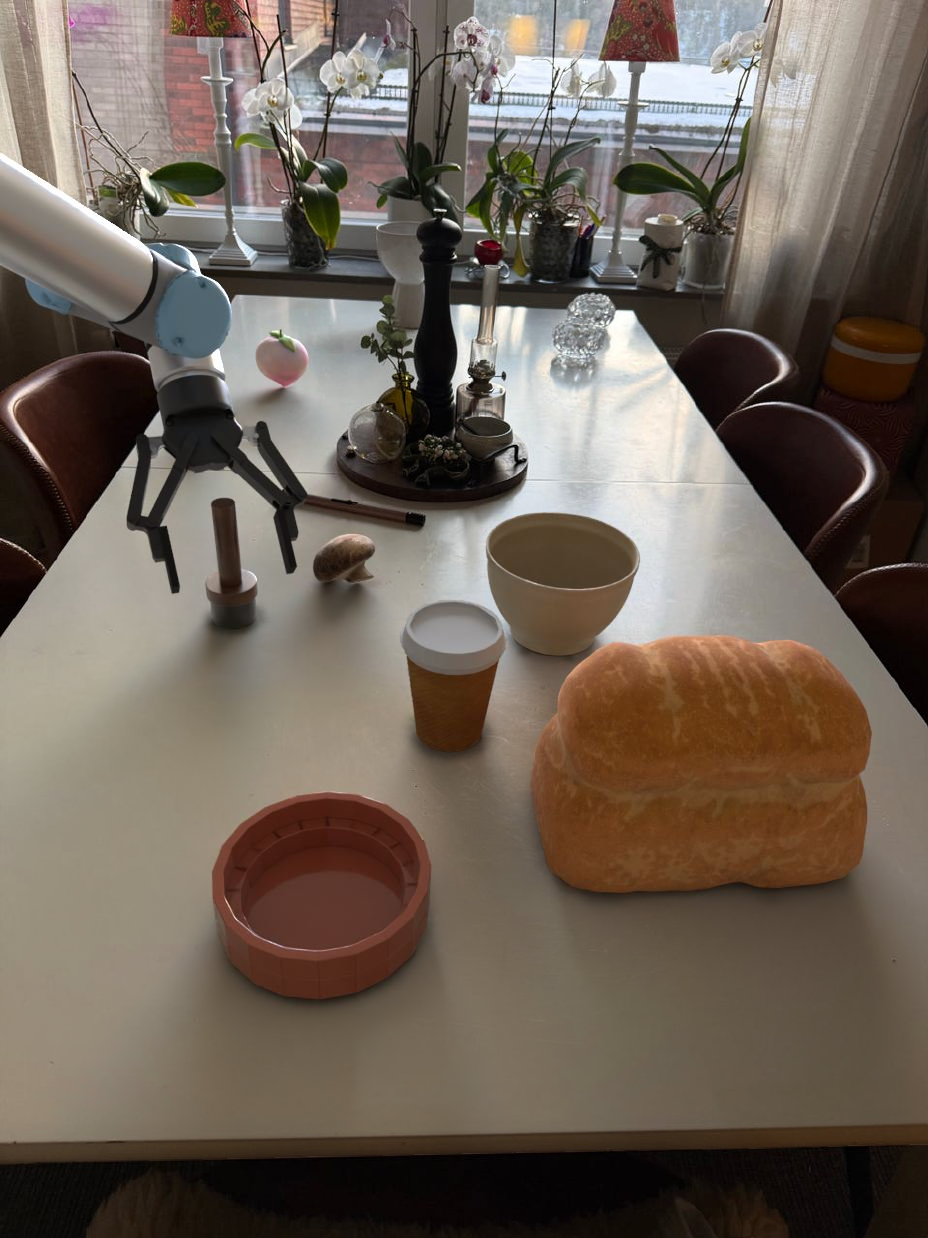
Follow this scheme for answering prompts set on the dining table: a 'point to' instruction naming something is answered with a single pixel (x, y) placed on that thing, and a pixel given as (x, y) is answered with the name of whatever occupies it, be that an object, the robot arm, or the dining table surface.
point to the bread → (702, 768)
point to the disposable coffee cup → (452, 670)
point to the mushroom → (344, 559)
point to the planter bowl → (559, 578)
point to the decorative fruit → (281, 358)
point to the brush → (230, 572)
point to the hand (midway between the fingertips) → (235, 580)
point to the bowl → (321, 894)
